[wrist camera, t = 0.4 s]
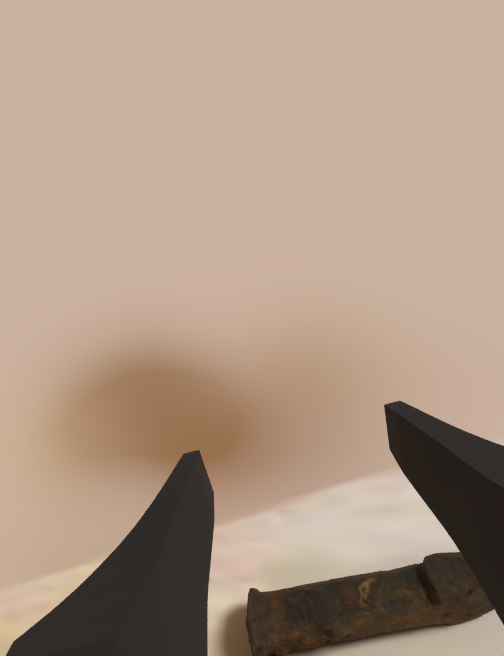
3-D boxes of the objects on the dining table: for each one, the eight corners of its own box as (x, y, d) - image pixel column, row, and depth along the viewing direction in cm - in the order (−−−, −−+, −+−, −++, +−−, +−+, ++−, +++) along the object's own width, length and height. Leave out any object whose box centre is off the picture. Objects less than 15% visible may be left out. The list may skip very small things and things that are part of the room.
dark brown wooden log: (259, 673, 23) (238, 646, 21) (258, 604, 27) (241, 575, 25) (551, 645, 20) (561, 610, 18) (508, 572, 24) (512, 536, 22)
